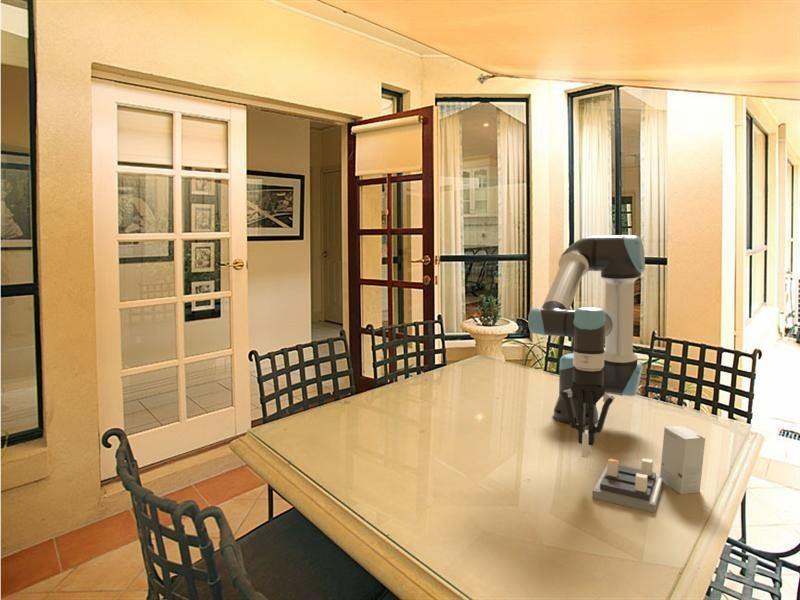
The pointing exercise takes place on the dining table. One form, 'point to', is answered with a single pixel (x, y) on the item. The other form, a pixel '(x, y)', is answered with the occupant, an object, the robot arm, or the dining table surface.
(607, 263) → the robot arm
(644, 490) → the block
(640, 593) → the dining table surface
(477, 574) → the dining table surface
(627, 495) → the panel
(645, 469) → the block
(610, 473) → the breaker mid
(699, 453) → the skincare box
